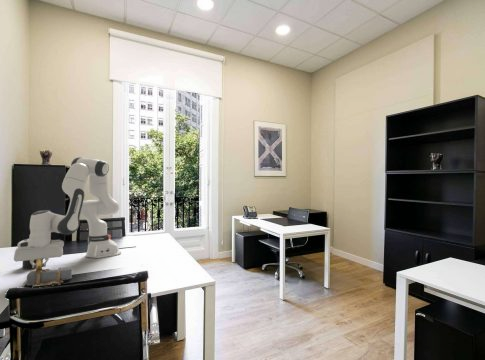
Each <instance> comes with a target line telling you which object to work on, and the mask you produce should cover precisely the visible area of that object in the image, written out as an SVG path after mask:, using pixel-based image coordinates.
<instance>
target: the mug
mask: <svg viewBox="0 0 485 360" xmlns="http://www.w3.org/2000/svg"><path fill="white" fill-rule="evenodd" d="M33 262H34V264H36V260H34V261H33ZM42 263H44V261H43V262H42ZM22 269H23V270H34V269H35V270H36V268H32V264H31V263H30V260H27V261H22Z"/></svg>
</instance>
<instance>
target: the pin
mask: <svg viewBox="0 0 485 360" xmlns="http://www.w3.org/2000/svg"><path fill="white" fill-rule="evenodd" d="M42 262H43V263H44V259H36V268H35V270H36V272H39V271H40V270H42V269H43V267H42Z"/></svg>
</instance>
